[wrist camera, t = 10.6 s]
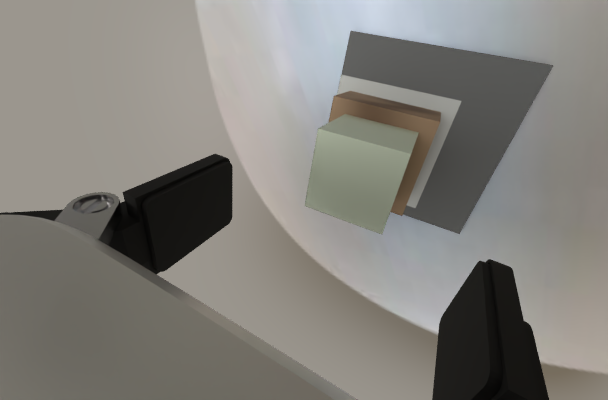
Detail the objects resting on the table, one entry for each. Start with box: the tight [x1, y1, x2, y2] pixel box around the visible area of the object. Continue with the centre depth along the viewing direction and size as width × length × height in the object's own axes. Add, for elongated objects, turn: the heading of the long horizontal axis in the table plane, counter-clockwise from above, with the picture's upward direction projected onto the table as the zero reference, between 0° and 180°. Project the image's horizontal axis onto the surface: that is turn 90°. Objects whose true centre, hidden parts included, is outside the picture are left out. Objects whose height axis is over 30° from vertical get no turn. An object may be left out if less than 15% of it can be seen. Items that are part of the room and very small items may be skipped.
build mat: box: [337, 31, 553, 234], centre depth 22 cm, size 13×13×1 cm
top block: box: [305, 114, 419, 234], centre depth 18 cm, size 5×5×5 cm
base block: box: [329, 91, 441, 216], centre depth 21 cm, size 7×7×4 cm
